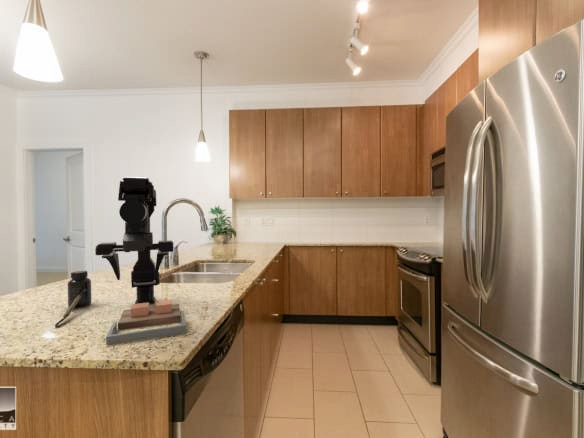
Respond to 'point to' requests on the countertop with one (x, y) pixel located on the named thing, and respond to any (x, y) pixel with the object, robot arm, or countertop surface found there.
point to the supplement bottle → (79, 288)
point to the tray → (144, 333)
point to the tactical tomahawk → (71, 307)
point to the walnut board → (149, 318)
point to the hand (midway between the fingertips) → (137, 278)
